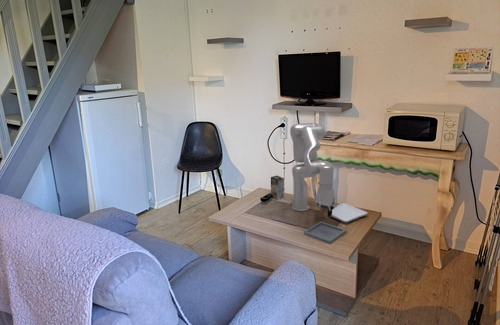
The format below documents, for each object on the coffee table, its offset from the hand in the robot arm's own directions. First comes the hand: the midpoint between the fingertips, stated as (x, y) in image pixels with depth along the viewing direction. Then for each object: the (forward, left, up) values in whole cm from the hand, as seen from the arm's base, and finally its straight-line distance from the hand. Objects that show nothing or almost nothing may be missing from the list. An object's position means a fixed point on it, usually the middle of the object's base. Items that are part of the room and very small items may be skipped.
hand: (325, 214), depth 211 cm
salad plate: (-4, +30, -13) cm, 33 cm away
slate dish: (0, 0, -12) cm, 12 cm away
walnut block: (0, 0, -1) cm, 1 cm away
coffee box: (-59, +27, -13) cm, 66 cm away
